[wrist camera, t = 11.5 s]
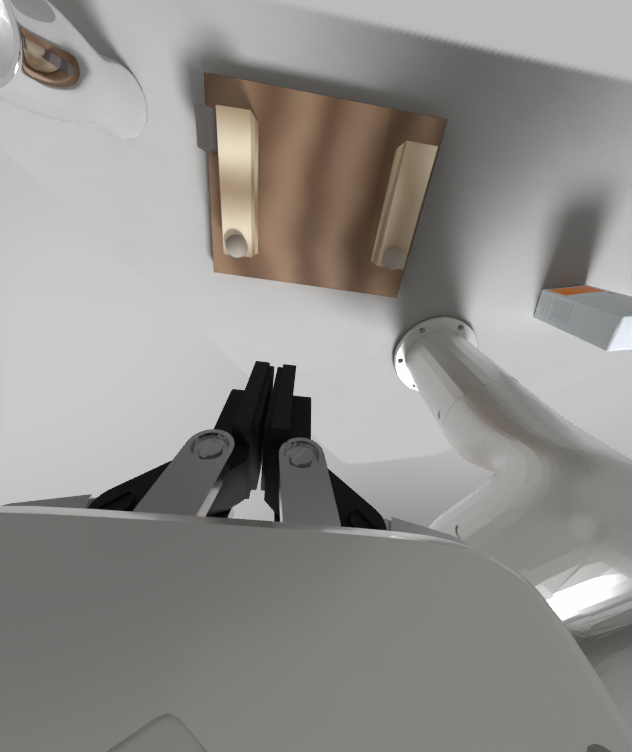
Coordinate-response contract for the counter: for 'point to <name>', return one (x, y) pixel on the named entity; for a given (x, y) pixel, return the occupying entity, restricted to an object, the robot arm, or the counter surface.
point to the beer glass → (64, 72)
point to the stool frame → (325, 185)
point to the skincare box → (589, 315)
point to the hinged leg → (238, 179)
